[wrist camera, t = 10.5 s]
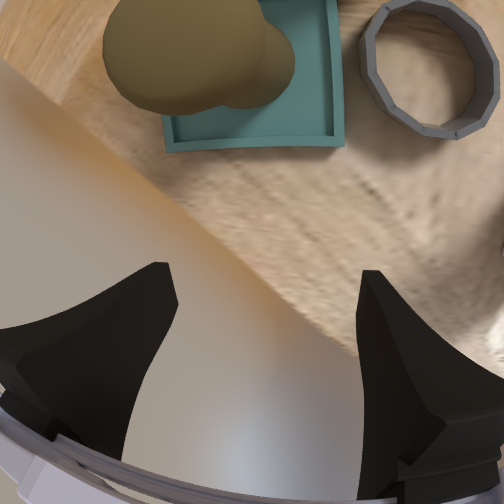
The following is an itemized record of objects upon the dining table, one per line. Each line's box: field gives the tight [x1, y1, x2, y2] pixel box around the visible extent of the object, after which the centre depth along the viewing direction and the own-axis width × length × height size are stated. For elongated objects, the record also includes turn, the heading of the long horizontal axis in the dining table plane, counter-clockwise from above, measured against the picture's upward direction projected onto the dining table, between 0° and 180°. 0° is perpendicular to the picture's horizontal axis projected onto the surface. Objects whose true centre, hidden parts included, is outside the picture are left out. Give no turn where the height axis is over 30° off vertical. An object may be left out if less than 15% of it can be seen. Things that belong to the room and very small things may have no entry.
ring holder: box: [358, 0, 500, 140], centre depth 13 cm, size 9×9×2 cm
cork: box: [102, 0, 295, 116], centre depth 11 cm, size 6×6×11 cm
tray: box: [162, 0, 344, 153], centre depth 16 cm, size 10×11×1 cm
